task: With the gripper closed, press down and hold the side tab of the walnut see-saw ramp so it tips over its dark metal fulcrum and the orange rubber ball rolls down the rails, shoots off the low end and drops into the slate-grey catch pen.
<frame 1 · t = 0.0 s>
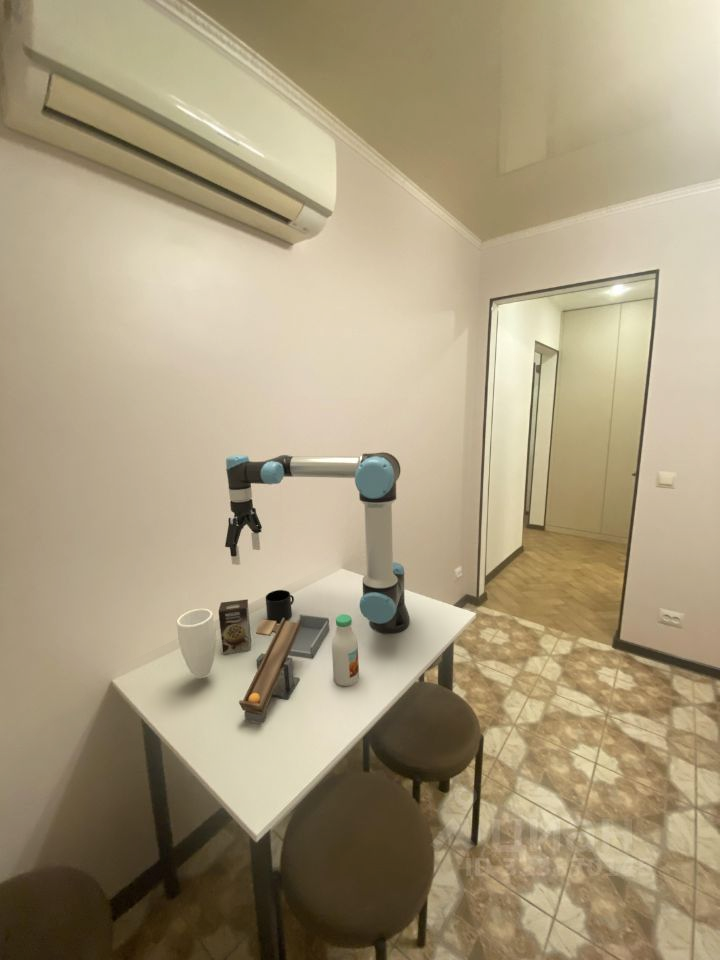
hand: (246, 556, 139), 28 cm above the table, fingers open, 13 cm apart
fulcrum: (276, 686, 114), on the table
mug: (282, 615, 152), on the table
lever: (262, 658, 113), point 9 cm above the table, hinge at -20.0°, touching ball
coffee box: (237, 648, 133), on the table
milk bottle: (346, 678, 116), on the table
catch pen: (306, 641, 135), on the table
ball: (254, 699, 102), point 6 cm above the table, tilted 60°, touching lever
cup: (203, 682, 117), on the table
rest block: (255, 718, 102), on the table
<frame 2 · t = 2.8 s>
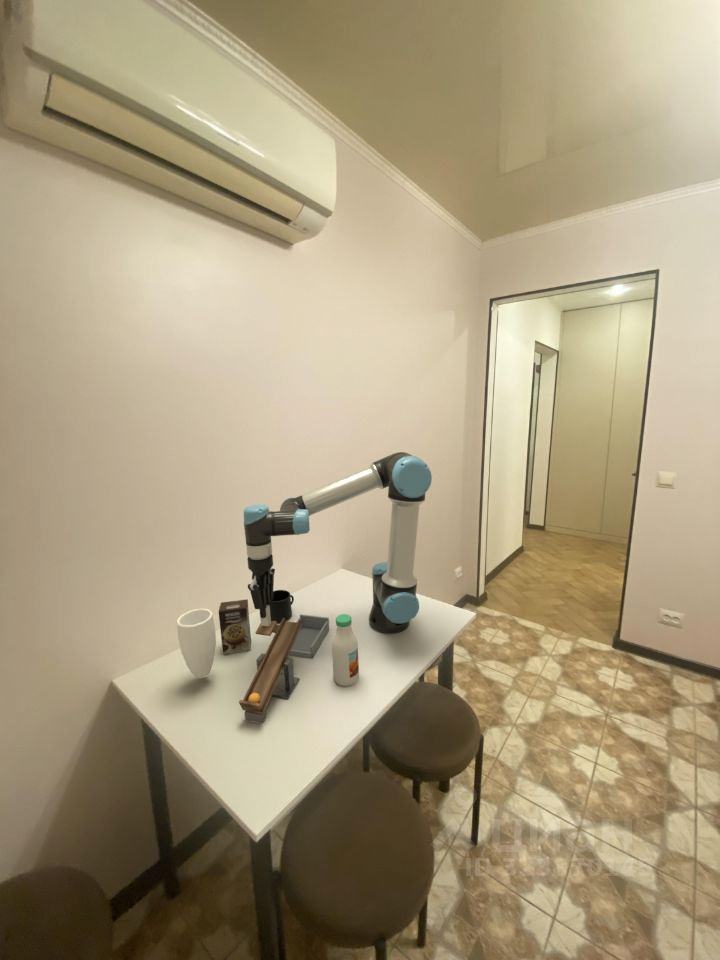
hand: (266, 624, 123), 13 cm above the table, fingers closed
lever: (262, 658, 113), point 9 cm above the table, hinge at -19.8°, touching ball, gripper
everything else where it was.
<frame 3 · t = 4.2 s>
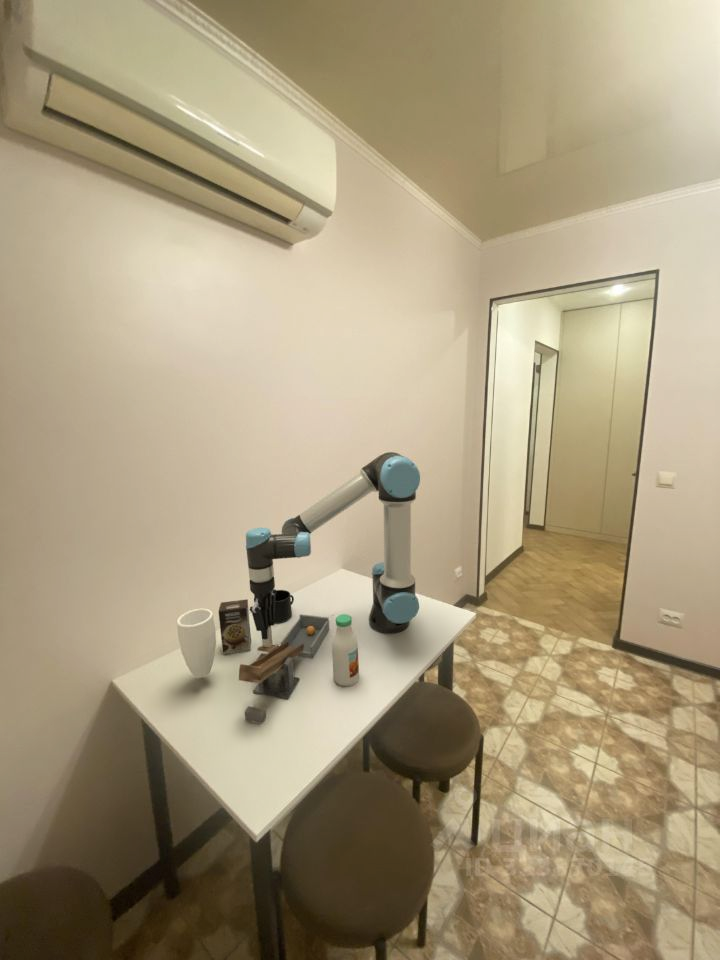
hand: (267, 645, 125), 5 cm above the table, fingers closed
lever: (263, 657, 113), point 9 cm above the table, hinge at 19.1°, touching gripper
ball: (310, 630, 138), point 2 cm above the table, tilted 23°, touching catch pen
everything else where it was.
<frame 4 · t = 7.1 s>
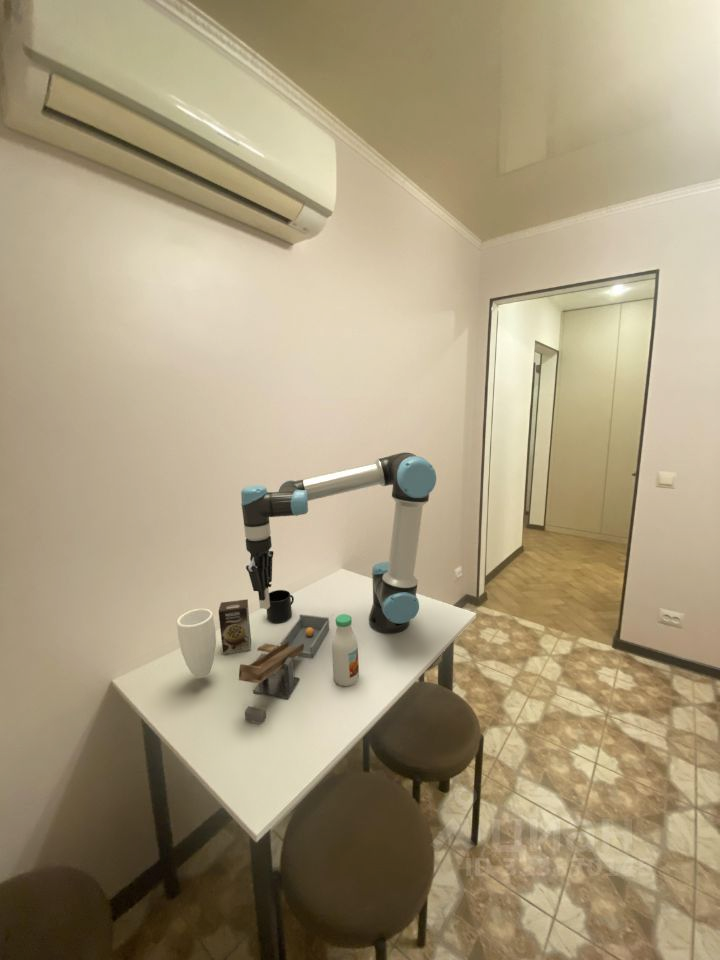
hand: (265, 607, 122), 19 cm above the table, fingers closed
lever: (263, 657, 113), point 9 cm above the table, hinge at 19.1°
ball: (309, 631, 138), point 2 cm above the table, tilted 84°, touching catch pen
everything else where it was.
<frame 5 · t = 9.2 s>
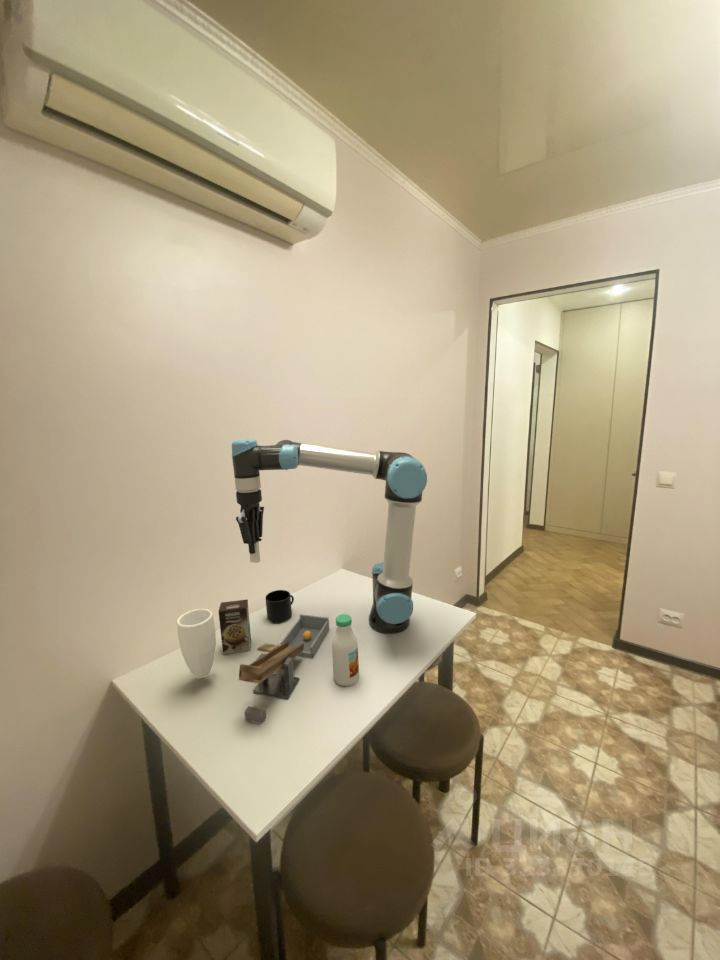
hand: (255, 561, 124), 32 cm above the table, fingers closed
ball: (307, 635, 135), point 2 cm above the table, touching catch pen
everything else where it was.
at the end: ball inside the target area on the catch pen (0.9 cm from its centre), point 1.7 cm above the catch pen's base; ball point 1.7 cm above the table; ball touching catch pen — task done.
